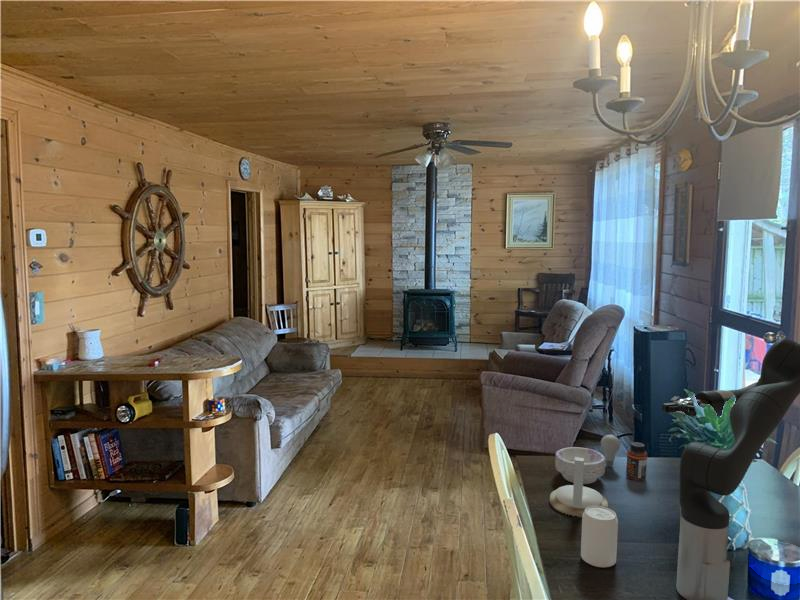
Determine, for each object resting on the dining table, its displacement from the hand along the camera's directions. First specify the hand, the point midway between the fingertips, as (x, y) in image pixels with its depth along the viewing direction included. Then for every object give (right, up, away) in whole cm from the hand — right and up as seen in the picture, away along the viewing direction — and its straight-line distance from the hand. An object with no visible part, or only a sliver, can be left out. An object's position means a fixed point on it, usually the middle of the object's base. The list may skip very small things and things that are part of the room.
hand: (663, 408), depth 161 cm
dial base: (-22, -29, +7) cm, 37 cm away
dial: (-22, -28, +7) cm, 36 cm away
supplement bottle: (+3, -27, +26) cm, 38 cm away
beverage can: (-26, -33, -21) cm, 47 cm away
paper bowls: (-16, -28, +25) cm, 40 cm away
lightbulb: (-3, -26, +35) cm, 44 cm away
